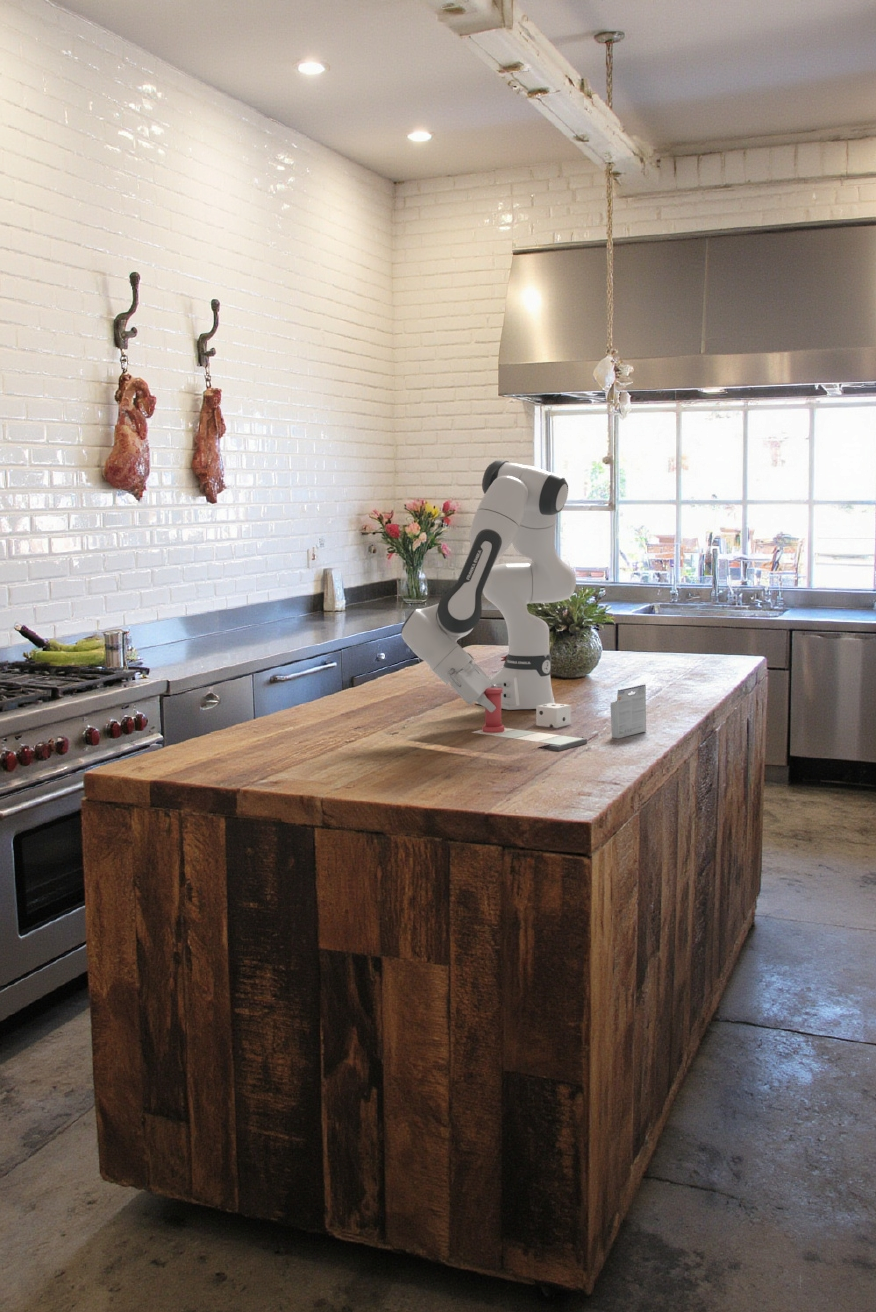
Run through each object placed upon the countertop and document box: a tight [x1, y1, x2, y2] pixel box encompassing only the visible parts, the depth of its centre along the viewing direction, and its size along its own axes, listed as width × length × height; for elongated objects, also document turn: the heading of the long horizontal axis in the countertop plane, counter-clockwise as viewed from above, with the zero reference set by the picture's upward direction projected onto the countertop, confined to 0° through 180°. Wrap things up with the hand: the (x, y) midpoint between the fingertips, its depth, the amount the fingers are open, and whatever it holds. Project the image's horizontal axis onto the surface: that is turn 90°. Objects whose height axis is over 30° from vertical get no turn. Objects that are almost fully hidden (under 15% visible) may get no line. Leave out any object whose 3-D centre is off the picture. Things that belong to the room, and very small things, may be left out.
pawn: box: [481, 688, 505, 734], centre depth 274 cm, size 5×5×10 cm
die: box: [535, 702, 572, 729], centre depth 281 cm, size 6×6×6 cm
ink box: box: [610, 684, 647, 740], centre depth 272 cm, size 12×2×12 cm, turn 135°
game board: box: [471, 727, 588, 752], centre depth 268 cm, size 26×11×1 cm, turn 49°
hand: (495, 708), depth 274 cm, fingers closed on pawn, 4 cm apart
